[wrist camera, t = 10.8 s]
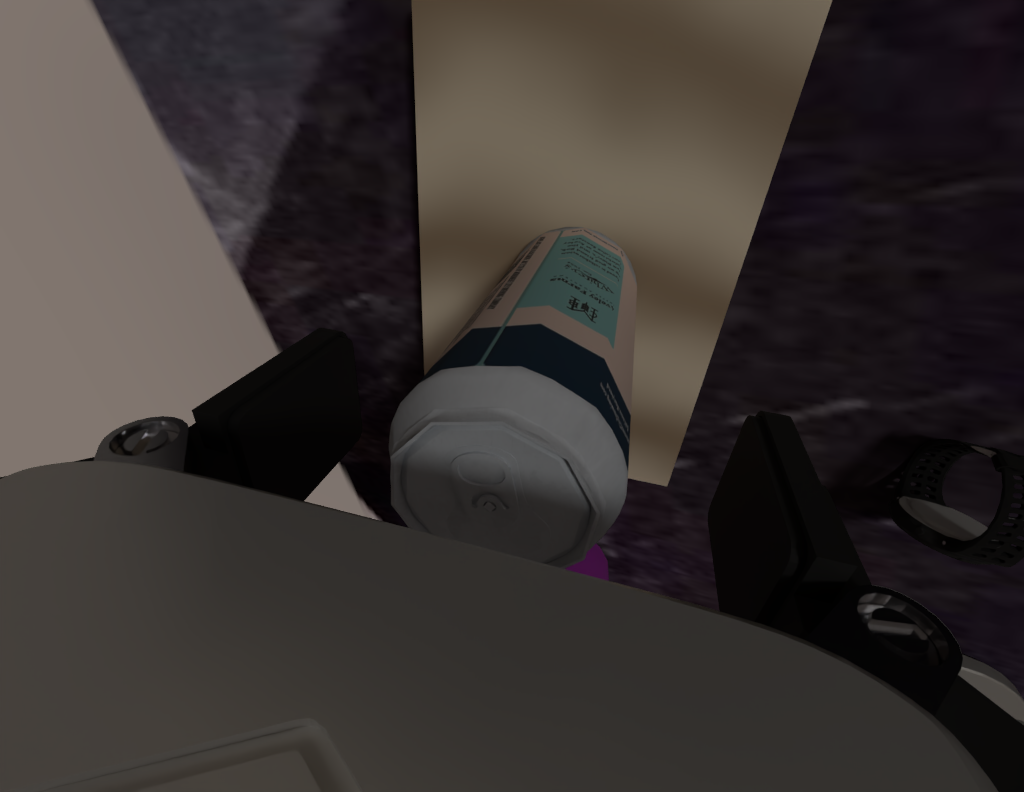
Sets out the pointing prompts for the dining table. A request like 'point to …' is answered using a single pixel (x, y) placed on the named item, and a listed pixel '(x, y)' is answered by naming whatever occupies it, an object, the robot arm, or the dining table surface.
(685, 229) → the birch board
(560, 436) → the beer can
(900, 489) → the smartwatch
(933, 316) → the dining table surface
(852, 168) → the dining table surface
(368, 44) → the dining table surface
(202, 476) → the robot arm
